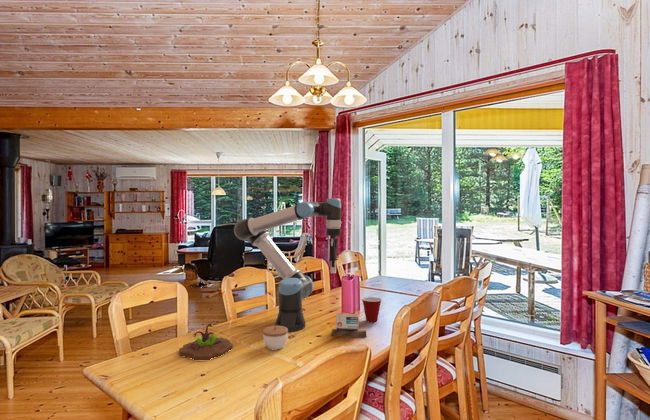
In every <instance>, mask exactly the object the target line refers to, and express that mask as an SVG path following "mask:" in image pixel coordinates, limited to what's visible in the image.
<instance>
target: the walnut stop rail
mask: <svg viewBox="0 0 650 420" xmlns="http://www.w3.org/2000/svg"><path fill="white" fill-rule="evenodd" d="M331 336H332V337H350V338H351V337H353V338H354V337H356V338H357V337H359V338H367V330H366V329H358V330H345V329H336V328H332V330H331Z"/></svg>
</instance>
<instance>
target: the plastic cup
mask: <svg viewBox="0 0 650 420" xmlns="http://www.w3.org/2000/svg"><path fill="white" fill-rule="evenodd" d="M382 300H383V298H381V297H376V296H368V297H367V296H366V297H361V301H362V305H363V311H364V315H365V321H366V322H367V323H377V322H378V319H379V315H380V310H381V309H380V308H381V303H382Z"/></svg>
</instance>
